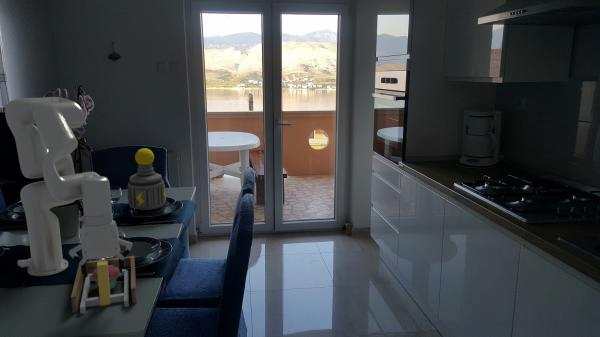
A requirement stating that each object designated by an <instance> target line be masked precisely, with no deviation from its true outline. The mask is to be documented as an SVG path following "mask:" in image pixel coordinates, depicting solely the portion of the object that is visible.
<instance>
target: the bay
mask: <svg viewBox="0 0 600 337" xmlns="http://www.w3.org/2000/svg"><path fill="white" fill-rule="evenodd" d="M101 261H102V262H103V261H108V265H113V266H116V267H118V268H119V258H118V257H114V258H113V257H112V258H107V259H104V258H103V259H101ZM86 262H87V269H88V274H91V273H93V272H94V271H95V269H97V262H99V259H95V260H91V261H90V260H89V261H88V260H87V261H86ZM124 267H131V271H130V290H131V291H130V292H131V293H130V294H131V303H132V304H133V305H134V304H137V282H136V281H137V279H136V262H135V255H130V256H126V257H125V258H124ZM84 282H85V278H84V274H82V271H81V265H80V264H79V263H78V268H77V271H76V275H75V279H74V283H73V288H72V291H71V295H70V299H71V300H70V301H71V309H72V313H73V314H74V313H78V310H79V307H80V302H81V301H80V300H81V297H82V295H81V294H82V292H83V287H84Z"/></svg>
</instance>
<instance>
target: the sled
mask: <svg viewBox="0 0 600 337" xmlns="http://www.w3.org/2000/svg"><path fill="white" fill-rule="evenodd" d="M97 273H98V284H99V287H98V293H99V296H95V297H89V292H90V287H91V282H94V281H93V279H92V273H91V274H88V276H87V277H86V278H84V283H83V288H82V293H81V294H82V295H81V298H80V300H81V301H80V303H79V310H80V311H79V312H80V314H85V313H86V310H87V308H89V307H96V306H101V307H103V306H108V305H111V304H116V303H122V302H123V305H124V307H125V308H126V307H129V305H130V304H129V303H130V300H129V299H130V296H129V295H130V294H129V293H130V291H129V290H130V289H129V288H130V286H129V282H130V280H129V277H130V276H129V271H128V270H126V269H122V273H120V276H119V277H121V276H124V277H123V279H124V280H123V283H124V284H123V286H124V287H123V292H122V293H117V294H116V293H115V294H111V289H110V284H109V272H108V261H103V262H97ZM121 278H122V277H121ZM98 284H97V285H98Z"/></svg>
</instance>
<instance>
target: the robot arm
mask: <svg viewBox="0 0 600 337" xmlns="http://www.w3.org/2000/svg"><path fill="white" fill-rule="evenodd" d="M4 115H5V119H6V123H7V126H8V127H9V129H10V131H11V133H12V135H13V137H14V141H15V146H16V150H17V156H18V162H19V167H20V171H21V173H22V175H23V177H25V178H27V179H40V178H43V179H44V180H42V181H35V182H31V183H28V184H27V185H24V186H23V187H22V188H21V190H20V194H19V195H20V201H21V203H22V207H23V210H24V213H25V218H26V226H27V233H28V241H29V249H30V250H29V251H30V258H28V259H19V260H17V266H18V267H20V268H27V267H28V268H27V274H28V275H30V276H35V277H45V276H46V277H47V276H52V275H56V274H58V273H60V272H63V271H65V270H66V269H67V268H68V267H69V261H68V260H66V259H65V258H63V249H62V241H61V240H62V238H61V230H60V221H59V218H58V217H57V215H56V214H55V213H53V212H52V211H51V210H50V209H52V208H54V207H59V206H60V207H61V206H64V205H69V204H72V203H74V202H75V201H76V200H82V208H83V210H82V211H83V215H81V216H78V222H82V223H83V224H82V225H81V236H80V238H81V240H80V241H81V243H80V244H78V245H76V246H74V247H72V248H70V250H69V251H68V255H69V256H70V257H71V258H72V259H73V261H75V262H76V263H77V264H78V265H79V264H80V265H81V271H82V274H84V279H86V277H87V276H88V269H87V262H88V260H94V259H95V260H99V258H101V259H104V258H113V257H116V258H119V271H120V273H122V269H124V258H125V257H128V255H129V254H130V251H131V250H132V247H133V242H131V241H128V240H125V239H122V238H120V236H119V230H118V226H117V223H116V220H114V219H113V218H114V217H113V209H112V197H111V187H110V186H111V185H110V180H109V179H108V177H107V176H102V175H100V174H98V173H97V172H95V171H85V172H80V173H76V172H75V167H74V166H75V165H74V161H73V158H72V155H71V154H72V153H73V152H74V151H75V150H76V149H77V148H78V144H79V142H78V139H77V137H76V135H75V134H74V132H73V130H72V129H76V128H81V127H82V126H83V125H84V123H85V114H84V111H83V108H82V107H81V106H80V105H79V103H77V102H76V101H73V100H70V99H66V98H65V97H64V98H63V97H59V96H49V97H48V96H47V97H24V98H23V97H22V98H15V99H12V100H10V101H8V102H7V104H6V105H5V109H4ZM121 246H124V247H125V249H124V250H123V251H122V250H121ZM79 251H81V254H82V257H81V256H80V255H78V254H77V253H78V252H79Z"/></svg>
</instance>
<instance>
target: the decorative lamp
mask: <svg viewBox="0 0 600 337" xmlns="http://www.w3.org/2000/svg"><path fill="white" fill-rule="evenodd" d="M134 158H135V159H134V160H135V161H136V163H137V164H138V166H137V170H136V171H137V172H136V173H135V174H133V175H131V176H130V177H129V182H127V186H126V187H127V204H128V205H129V207H130V209H132V208H135V209H141V210H140V211H151V210H156V209H159V208H162V207H164V206H165V204H166V202H167V194H166V184H165V181H164V179H163V176H162V174H159V173H157V172H155V170H154V167H153V162H154V160H155V155H154V153H153V151H152V150H151V149H149V148H144V147H143V148H140V149H138V150H137V152H136V153H135V155H134ZM135 209H134V210H135Z"/></svg>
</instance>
